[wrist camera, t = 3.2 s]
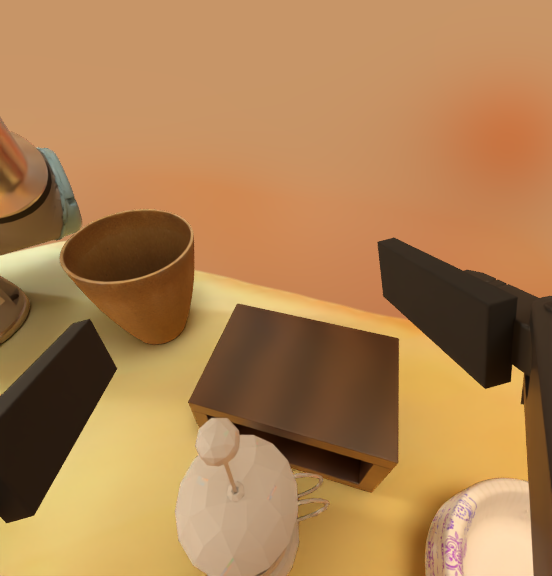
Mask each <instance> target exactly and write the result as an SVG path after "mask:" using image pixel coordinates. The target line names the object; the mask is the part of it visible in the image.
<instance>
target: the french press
mask: <svg viewBox="0 0 552 576" xmlns="http://www.w3.org/2000/svg"><path fill="white" fill-rule="evenodd" d="M195 446H196V449H197V452H198V454H199V455H198V456H197V457H196V458H195V459H194V460H193V461H192V463H191V465H190V467H189V469H188V470H187V472H186V474H185V476H184V478H183V479H182V481H181V483H180V488H179V493H178V498H177V504H176V509H175V515H176V524H177V532H178V540H179V542H180V544H181V546H182V547H183V549H184V551H185V552H186V554H187V556H188V558H189V559H190V561H191V563H192V564H193V566H195V567H196V568H198V569H199V570H201V571H203V572H204V573H206V574H207V576H287V574H288V573H289V572H290V570H291V569H292V567H293V563H294V560H295V556H296V552H297V549H298V545H299V526H298V522H299V521H301V520H304V519H307V518H310V517H313V516H317V515H318V514H320V513H321V512H323V511H325V510H326V509H327V508H328V506H329V504H330V503H329V501H327V500H324V499H321V498H312V499H305V500H299V501H298V498H299V497H301V496H304V495H307V494H309V493H312V492H313V491H315V490H317V489H318V488H319V487H320V486H321V485H322V482H323V478H322V476H320V475H317V474H312V473H298V474H294V475H293V472H292V470H291V467H290V465H289V462H288V460H287V459H286V458H285V457H284V456H283V455H282V453H281V452H280V451H279V450H278V449H277V448H276V447H275V446H274V445H273V444H272V443H270V442H268V441H266V440H263V439H261V438H259V437H257V436H255V435H239V430H238V429H237V428H236V427H235V426H234V425H233V423H232V422H231V421H230V420H229V419H228V418H211V419H210V420H209V421H207V422H206V423H205V424H204V425H203V426H202V427H200V428H199V430H198V435H197V440H196V445H195ZM307 476H309V477H315V478H318V479H320V481H319V483H318V484H317V485H316V486H315V487H313V488H312V489H310V490H308V491H305V492H303V493H301V494H298V495H297V483H296V480H295V478H300V477H307ZM312 502H318V503H324V504H325V506H324V507H322V508H321V509H319V510H317V511H315V512H313V513H311V514H308V515H306V516H303V517H300V518H298V516H297V514H298V505H301V504H306V503H312Z"/></svg>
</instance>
